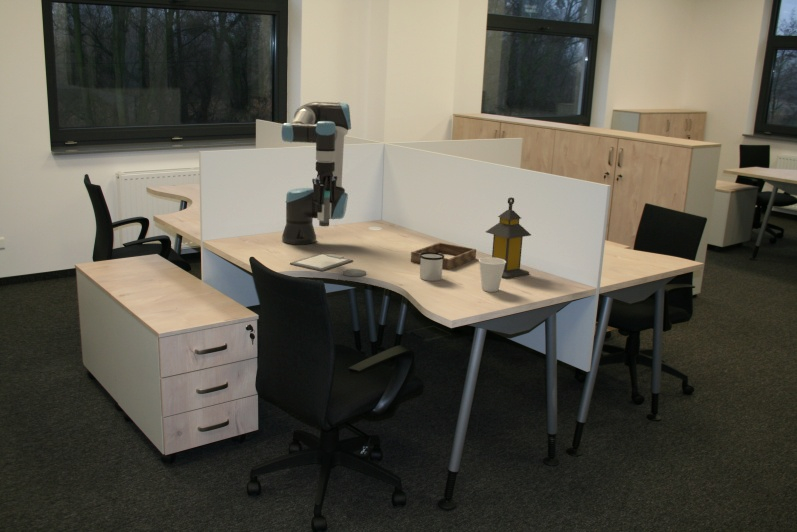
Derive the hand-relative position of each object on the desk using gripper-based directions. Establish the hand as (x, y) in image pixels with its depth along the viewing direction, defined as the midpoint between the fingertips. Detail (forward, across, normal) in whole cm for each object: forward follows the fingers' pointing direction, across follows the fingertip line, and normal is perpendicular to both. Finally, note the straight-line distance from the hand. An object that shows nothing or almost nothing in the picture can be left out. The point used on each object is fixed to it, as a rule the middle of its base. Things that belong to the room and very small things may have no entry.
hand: (324, 219), depth 301 cm
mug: (+16, -5, +48) cm, 51 cm away
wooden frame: (+16, -31, +39) cm, 52 cm away
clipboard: (+16, +6, +4) cm, 18 cm away
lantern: (+17, -30, +67) cm, 75 cm away
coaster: (+16, +10, +23) cm, 30 cm away
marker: (+3, 0, 0) cm, 3 cm away
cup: (+16, -4, +73) cm, 75 cm away
